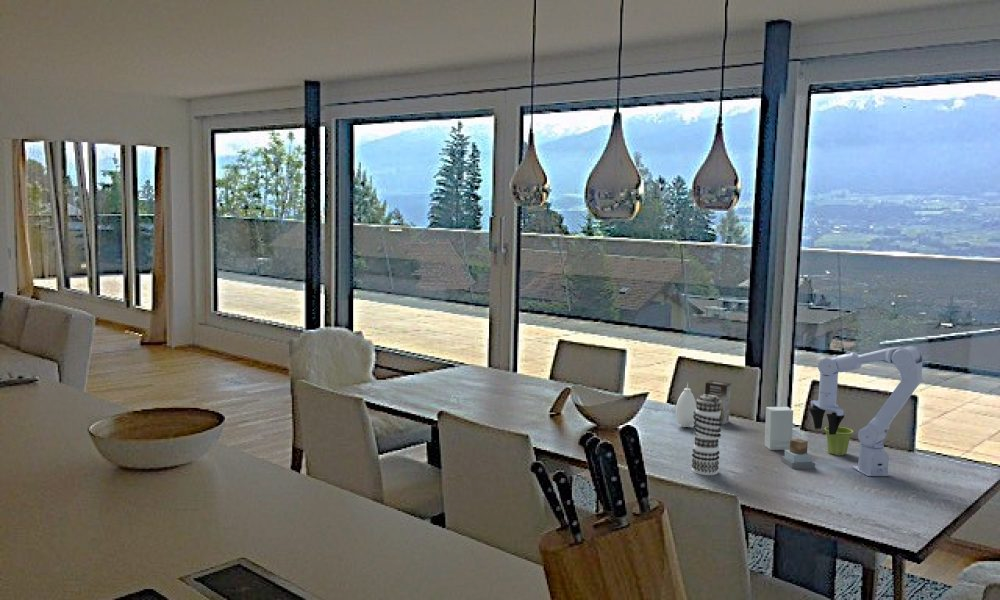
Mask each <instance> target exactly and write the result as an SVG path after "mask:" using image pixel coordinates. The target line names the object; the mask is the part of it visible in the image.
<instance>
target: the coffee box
mask: <svg viewBox="0 0 1000 600" xmlns="http://www.w3.org/2000/svg"><path fill="white" fill-rule="evenodd" d="M704 387H705V388H704V389H705V391H704V394H711V395H716V396H718V398H719V400H721V401H722V402H721V404H720V410H721V415H720V416H719V417H721V418H722V421H720V423H722V425H725V423H726V424H727V423H729V422H728V421H730V410H731V409H730V407H731V391H732V382H725V381H717V380H713V379H710V380H708V381H706V382H705V386H704Z"/></svg>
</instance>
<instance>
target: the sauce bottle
mask: <svg viewBox="0 0 1000 600" xmlns="http://www.w3.org/2000/svg"><path fill="white" fill-rule="evenodd" d="M696 407H697V400H696V398H695V396H694V394H693V392H692V389H691V388H689V382H688V381H687V384H686V387H685V388H684V389H683V391H682V392H681V394H680V395H679V397H678V399H677V402H676V406H675V418H676V421H677V423H678V424H679V425H680V426H681V427H683V428H684V427H688V428H690V427H691V426H692V425H694V423H693V422H694V421H695V419H694V418H693V415H695V414H694V412H695V411H696ZM695 413H696V412H695Z"/></svg>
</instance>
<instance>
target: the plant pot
mask: <svg viewBox="0 0 1000 600" xmlns="http://www.w3.org/2000/svg"><path fill="white" fill-rule="evenodd" d="M824 431H825V434H826V443H827V452H829V453H828V454H832V455H833V454H835V455H834V456H840V455H842V456H846V455H847V452H848V447H849V444H850V439H851V437H852V434H853V433H854V430H853V429H852V428H848V427H843V426H838V429H837V432H836V434H834V435H830V434H829V426H825V427H824ZM844 454H845V455H844Z"/></svg>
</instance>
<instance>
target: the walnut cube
mask: <svg viewBox="0 0 1000 600" xmlns="http://www.w3.org/2000/svg"><path fill="white" fill-rule="evenodd" d="M808 443H809V442H808V440H805V439H801V438H794V439H793V438H792V440H790V452H792V453H796V454H804V453H807V452H808Z"/></svg>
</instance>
